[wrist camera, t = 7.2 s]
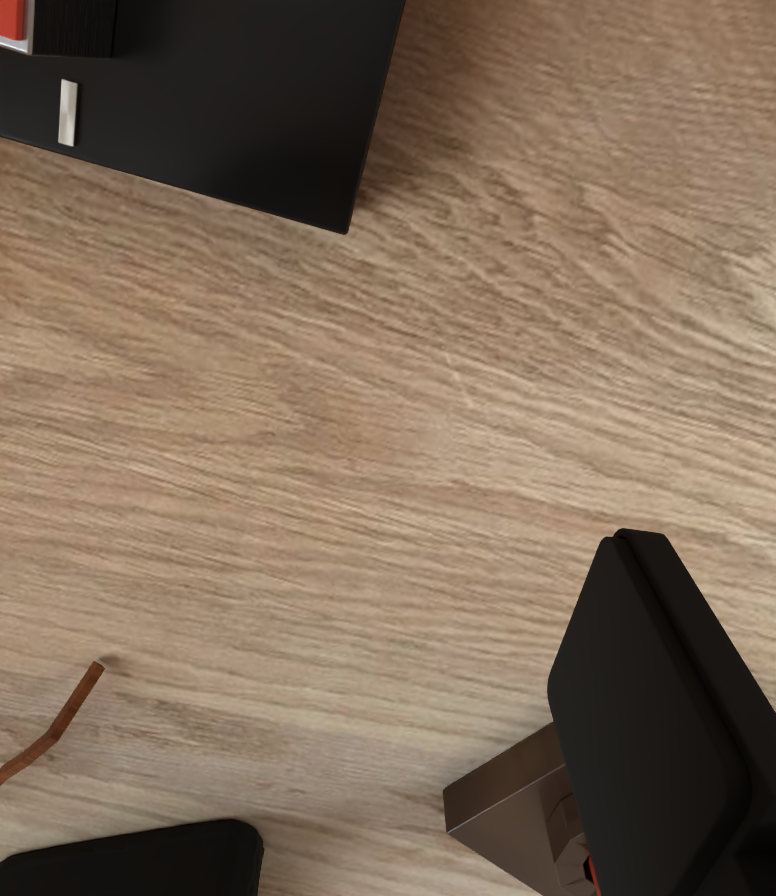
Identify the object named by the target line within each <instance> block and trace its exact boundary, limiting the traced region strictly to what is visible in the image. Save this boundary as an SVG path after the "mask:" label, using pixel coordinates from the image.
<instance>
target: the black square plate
mask: <svg viewBox="0 0 776 896" xmlns="http://www.w3.org/2000/svg"><path fill="white" fill-rule="evenodd" d="M405 1H406V0H116V8H115V18H114V29H113V39H112V50H111V57H110V58H109V59H101V58H75V57H49V56H28V55H25V54H21V53H18V52H15V51H12V50H9V49H6V48H3V47H0V137H2V138H6V139H9V140H13V141H16V142H20V143H23V144H27V145H30V146H34V147H37V148H41V149H44V150H48V151H51V152H55V153H58V154H62V155H65V156H69V157H72V158H76V159H79V160H83V161H86V162H90V163H93V164H97V165H100V166H104V167H107V168H111V169H114V170H118V171H121V172H125V173H128V174H132V175H135V176H139V177H142V178H146V179H149V180H153V181H156V182H160V183H164V184H167V185H171V186H174V187H178V188H181V189H185V190H188V191H192V192H195V193H199V194H202V195H206V196H209V197H213V198H216V199H220V200H223V201H227V202H230V203H234V204H237V205H241V206H244V207H248V208H251V209H255V210H258V211H262V212H265V213H269V214H272V215H276V216H279V217H283V218H286V219H290V220H293V221H297V222H300V223H304V224H307V225H311V226H314V227H318V228H321V229H325V230H328V231H332V232H336V233H339V234H343V235H345V234H347V233H348V230H349V226H350V222H351V218H352V214H353V210H354V206H355V202H356V198H357V194H358V190H359V186H360V182H361V178H362V174H363V170H364V166H365V162H366V158H367V154H368V150H369V146H370V142H371V138H372V134H373V130H374V126H375V122H376V118H377V114H378V110H379V106H380V102H381V98H382V93H383V89H384V85H385V81H386V77H387V73H388V69H389V65H390V61H391V57H392V53H393V49H394V45H395V41H396V37H397V33H398V29H399V25H400V21H401V17H402V13H403V9H404V5H405Z"/></svg>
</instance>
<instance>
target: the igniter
mask: <svg viewBox="0 0 776 896" xmlns="http://www.w3.org/2000/svg"><path fill="white" fill-rule="evenodd" d="M443 800H444V811H445V822H446V832H447V834H448V835H450V836H451V837H453V838H454V839H456V840H457V841H459V842H461V843H462V844H464V845H465V846H467V847H468V848H470V849H471V850H473V851H475V852H476V853H478V854H479V855H481V856H482V857H484V858H485V859H487V860H488V861H490V862H492V863H493V864H495V865H496V866H498V867H499V868H501V869H502V870H504V871H505V872H507V873H509V874H510V875H512V876H513V877H515V878H516V879H518V880H519V881H521V882H523V883H524V884H526V885H527V886H529V887H530V888H532V889H533V890H535V891H536V892H538V893H540V894H541V895H543V896H597V893H596V889H595V885H594V881H593V878H592V874H591V870H590V866H589V855H590V853H589V849H588V846H587V842H586V838H585V834H584V831H583V827H582V823H581V820H580V816H579V812H578V809H577V805H576V801H575V798H574V794H573V790H572V787H571V783H570V779H569V775H568V772H567V768H566V764H565V761H564V757H563V753H562V750H561V746H560V742H559V739H558V735H557V731H556V728H555V724H554V722H553V723H551V724H549V725H548V726H546V727H545V728H543V729H541V730H540V731H538V732H536V733H535V734H533V735H532V736H530V737H528V738H527V739H525V740H523V741H522V742H520V743H518V744H517V745H515V746H514V747H512V748H510V749H509V750H507V751H505V752H504V753H502V754H501V755H499V756H497V757H496V758H494V759H492V760H491V761H489V762H488V763H486V764H484V765H483V766H481V767H479V768H478V769H476V770H474V771H473V772H471V773H470V774H468V775H466V776H465V777H463V778H461V779H460V780H458V781H457V782H455V783H453V784H452V785H450V786H448V787H447V788H445V789H444V790H443Z"/></svg>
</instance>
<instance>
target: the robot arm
mask: <svg viewBox="0 0 776 896" xmlns="http://www.w3.org/2000/svg"><path fill="white" fill-rule="evenodd" d="M547 693H548V701H549V705H550V709H551V713H552V716H553V720H554V724H555V728H556V731H557V735H558V739H559V742H560V746H561V750H562V753H563V757H564V761H565V764H566V768H567V772H568V775H569V779H570V783H571V787H572V790H573V794H574V798H575V801H576V805H577V809H578V812H579V816H580V820H581V823H582V827H583V831H584V834H585V838H586V842H587V846H588V849H589V853H590V857H591V860H592V864H593V868H594V871H595V875H596V879H597V882H598V886H599V890H600V893H601V896H776V713H775V711H774V710H773V708H772V706H771V705H770V703H769V701H768V700H767V698H766V697H765V695H764V693H763V692H762V690H761V689H760V687H759V685H758V684H757V682H756V680H755V679H754V677H753V676H752V674H751V672H750V671H749V669H748V668H747V666H746V664H745V663H744V661H743V660H742V658H741V656H740V655H739V653H738V651H737V650H736V648H735V647H734V645H733V643H732V642H731V640H730V639H729V637H728V635H727V634H726V632H725V630H724V629H723V627H722V626H721V624H720V622H719V621H718V619H717V618H716V616H715V614H714V613H713V611H712V609H711V608H710V606H709V605H708V603H707V601H706V600H705V598H704V597H703V595H702V593H701V592H700V590H699V589H698V587H697V585H696V584H695V582H694V580H693V579H692V577H691V576H690V574H689V572H688V571H687V569H686V568H685V566H684V564H683V563H682V561H681V559H680V558H679V556H678V555H677V553H676V551H675V550H674V548H673V547H672V545H671V543H670V542H669V540H668V539H667V538H666V536H665V535H664V534H661V533H655V532H648V531H640V530H633V529H625V528H622V529H619V530H618V531H617V532H616V533H615V534H614V536H613V537H605V538H603V539H602V540H601V542H600V544H599V546H598V549H597V551H596V554H595V557H594V559H593V562H592V565H591V567H590V570H589V572H588V575H587V578H586V580H585V583H584V585H583V588H582V591H581V593H580V596H579V598H578V601H577V604H576V606H575V609H574V612H573V614H572V617H571V619H570V622H569V625H568V627H567V630H566V632H565V635H564V638H563V640H562V643H561V645H560V648H559V651H558V653H557V656H556V658H555V661H554V664H553V666H552V669H551V672H550V675H549V678H548V687H547Z"/></svg>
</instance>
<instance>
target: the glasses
mask: <svg viewBox="0 0 776 896" xmlns="http://www.w3.org/2000/svg"><path fill="white" fill-rule="evenodd" d="M104 670H105V668H104V667H103V666H102V665H101V664H99V663H96V662H93V663H92V665H91V666H90V668H89V669H88V671H87V672H86V674H85V675H84V677H83V678H82V680H81V681H80V683H79V684H78V686H77V687H76V689H75V690H74V692H73V693H72V695H71V696H70V698H69V699H68V701H67V702H66V704H65V705H64V707H63V708H62V710H61V711H60V713H59V714H58V716H57V717H56V719H55V720H54V722H53V723H52V725H51V726H50V728H49V729H48V731H47V732H46V733H45V734H44V735H43V736H42V737H41V738H39V739H38V740H37V741H36V742H35V743H33V744H32V745H31V746H30V747H29V748H27V749H26V750H25V751H24V752H23V753H21V754H19V755H18V756H16V757H15V758H13V759H12V760H10V761H9V762H7V763H6V764H4V765H3V766H2V767H1V768H0V786H1V785H2V784H3V783H4V782H5V781H6V780H7V779H8V778H10V777H11V776H13V775H15V774H16V773H18V772H19V771H21V770H22V769H24V768H26V767H27V766H29V765H30V764H31V763H32V762H33V761H35V760H36V759H37V758H38V757H39V756H41V755H42V754H43V753H44V752H45V751H47V750H48V749H49V748H50V747H51V746H53V745H54V744H55V743H56V742H57V741H58V740H59V739H60V737H61V736H62V734H63V732H64V731H65V729H66V728H67V726H68V725H69V723H70V722H71V720H72V719H73V717H74V716H75V714H76V713H77V711H78V709H79V708H80V706H81V705H82V703H83V702H84V700H85V699H86V697H87V696H88V694H89V693H90V691H91V690H92V688H93V686H94V685H95V683H96V682H97V680H98V679H99V677H100V676H101V674H102V673H103V671H104Z"/></svg>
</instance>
